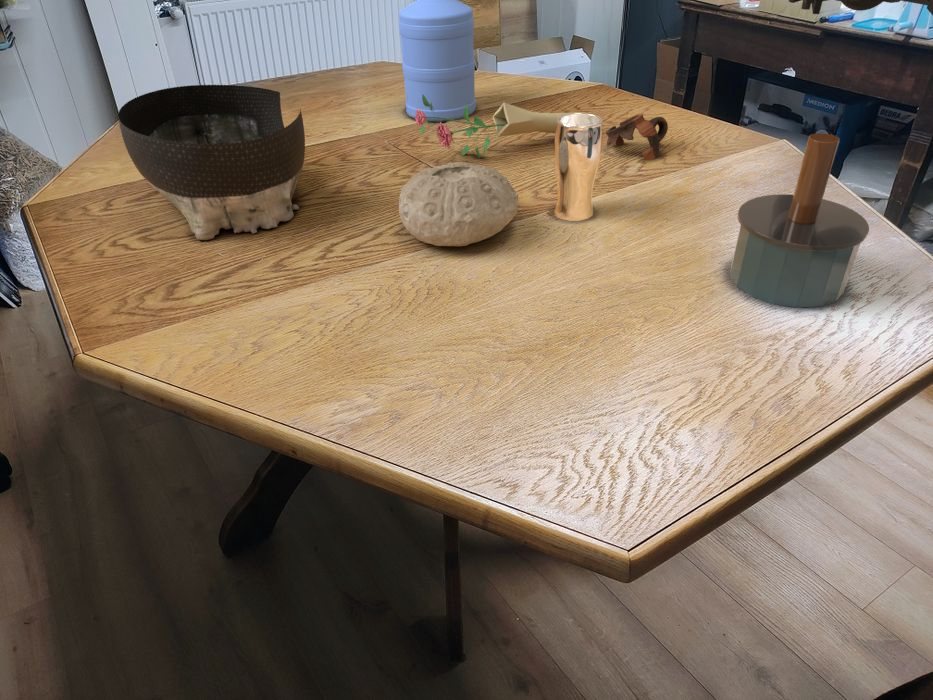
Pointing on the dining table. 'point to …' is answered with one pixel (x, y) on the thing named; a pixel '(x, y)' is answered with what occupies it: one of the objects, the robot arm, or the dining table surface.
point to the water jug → (438, 58)
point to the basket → (217, 154)
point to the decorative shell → (457, 204)
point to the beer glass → (576, 163)
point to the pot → (790, 272)
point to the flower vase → (505, 120)
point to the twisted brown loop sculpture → (644, 129)
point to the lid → (806, 208)
